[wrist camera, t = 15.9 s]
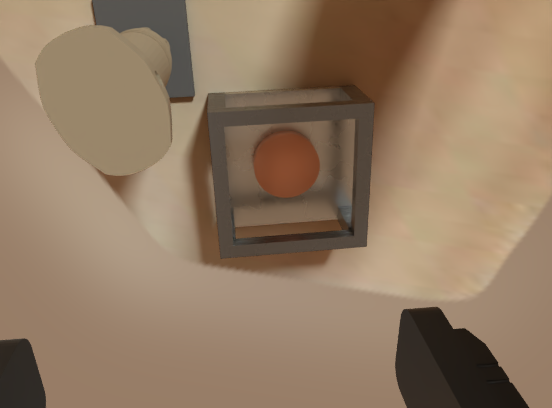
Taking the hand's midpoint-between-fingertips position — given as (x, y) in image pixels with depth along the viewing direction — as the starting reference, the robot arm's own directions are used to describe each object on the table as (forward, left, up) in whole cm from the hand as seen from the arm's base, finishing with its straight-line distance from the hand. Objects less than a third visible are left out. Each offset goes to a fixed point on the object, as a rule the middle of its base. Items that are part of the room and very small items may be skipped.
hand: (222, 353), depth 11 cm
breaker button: (+7, +5, -28) cm, 29 cm away
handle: (-2, -5, -28) cm, 29 cm away
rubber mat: (-2, -5, -29) cm, 29 cm away
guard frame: (+7, +5, -29) cm, 30 cm away
